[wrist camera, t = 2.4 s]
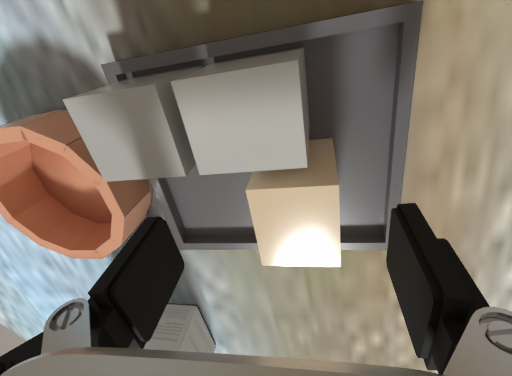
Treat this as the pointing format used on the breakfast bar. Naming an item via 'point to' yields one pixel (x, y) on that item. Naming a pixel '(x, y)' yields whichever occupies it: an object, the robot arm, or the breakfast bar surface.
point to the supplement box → (181, 331)
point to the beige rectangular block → (298, 211)
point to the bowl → (64, 189)
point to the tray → (321, 124)
